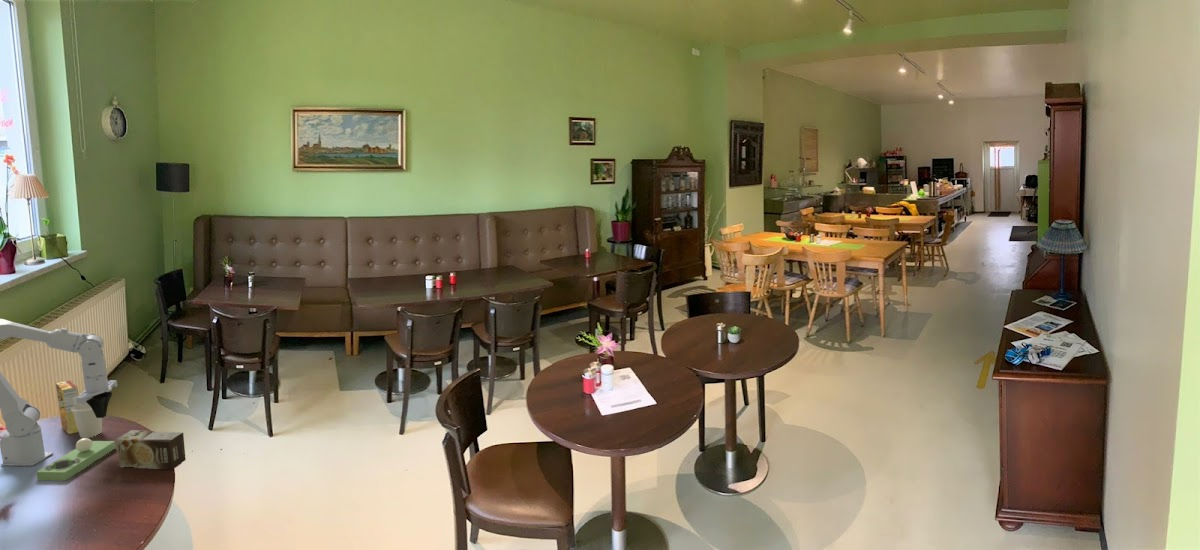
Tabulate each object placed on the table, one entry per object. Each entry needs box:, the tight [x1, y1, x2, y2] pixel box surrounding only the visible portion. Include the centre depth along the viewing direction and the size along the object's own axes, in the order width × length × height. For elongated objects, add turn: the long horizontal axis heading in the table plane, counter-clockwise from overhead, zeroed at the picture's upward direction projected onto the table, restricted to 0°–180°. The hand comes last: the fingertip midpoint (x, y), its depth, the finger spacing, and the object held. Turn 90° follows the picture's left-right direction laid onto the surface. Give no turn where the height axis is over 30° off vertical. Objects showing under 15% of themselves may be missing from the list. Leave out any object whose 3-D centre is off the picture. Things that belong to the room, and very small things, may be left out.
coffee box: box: [116, 429, 187, 471], centre depth 201 cm, size 9×6×16 cm
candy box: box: [55, 380, 79, 435], centre depth 223 cm, size 9×4×15 cm, turn 50°
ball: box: [75, 438, 93, 452], centre depth 203 cm, size 4×4×4 cm
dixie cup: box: [71, 402, 103, 439], centre depth 220 cm, size 8×8×10 cm
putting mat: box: [35, 440, 117, 481], centre depth 201 cm, size 8×20×2 cm, turn 0°
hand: (101, 416), depth 210 cm, fingers closed
